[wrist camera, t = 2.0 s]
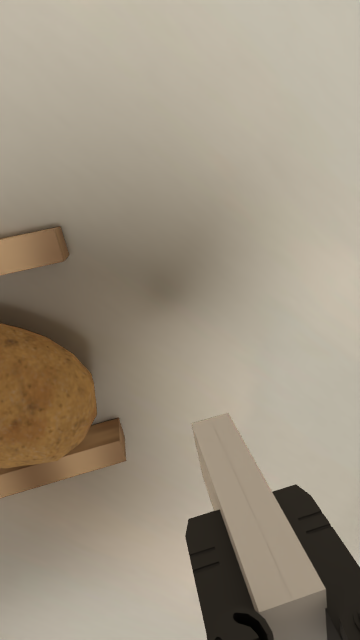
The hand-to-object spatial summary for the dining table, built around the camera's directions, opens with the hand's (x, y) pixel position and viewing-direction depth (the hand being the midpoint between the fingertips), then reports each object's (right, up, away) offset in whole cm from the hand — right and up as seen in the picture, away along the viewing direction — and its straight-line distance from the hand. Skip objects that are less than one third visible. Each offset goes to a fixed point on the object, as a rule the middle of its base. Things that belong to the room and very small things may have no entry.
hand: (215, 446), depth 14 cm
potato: (-15, +2, +12) cm, 19 cm away
